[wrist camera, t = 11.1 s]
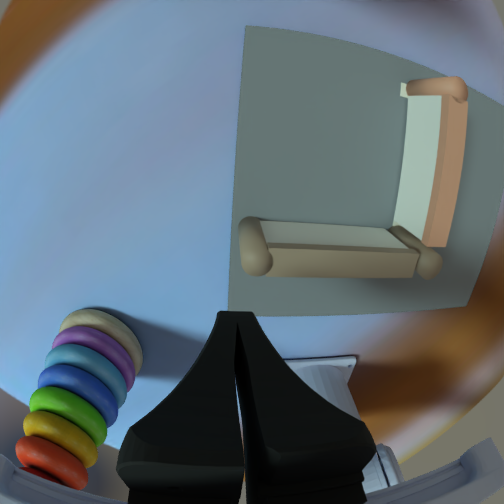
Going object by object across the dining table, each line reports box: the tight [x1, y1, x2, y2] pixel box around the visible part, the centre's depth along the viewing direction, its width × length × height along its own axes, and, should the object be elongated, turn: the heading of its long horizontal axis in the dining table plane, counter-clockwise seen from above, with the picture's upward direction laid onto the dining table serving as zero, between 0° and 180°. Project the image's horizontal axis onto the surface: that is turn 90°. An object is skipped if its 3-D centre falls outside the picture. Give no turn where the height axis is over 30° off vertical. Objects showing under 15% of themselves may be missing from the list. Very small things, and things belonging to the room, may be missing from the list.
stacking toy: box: [16, 309, 143, 490], centre depth 15 cm, size 8×8×19 cm
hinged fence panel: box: [394, 76, 468, 247], centre depth 16 cm, size 10×2×5 cm, turn 178°
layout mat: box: [228, 25, 504, 316], centre depth 19 cm, size 20×24×1 cm
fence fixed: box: [238, 216, 443, 280], centre depth 18 cm, size 2×12×5 cm, turn 86°
